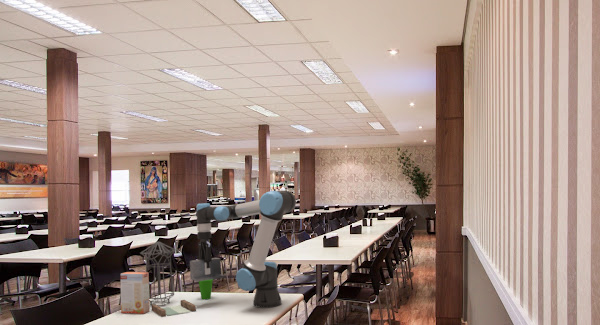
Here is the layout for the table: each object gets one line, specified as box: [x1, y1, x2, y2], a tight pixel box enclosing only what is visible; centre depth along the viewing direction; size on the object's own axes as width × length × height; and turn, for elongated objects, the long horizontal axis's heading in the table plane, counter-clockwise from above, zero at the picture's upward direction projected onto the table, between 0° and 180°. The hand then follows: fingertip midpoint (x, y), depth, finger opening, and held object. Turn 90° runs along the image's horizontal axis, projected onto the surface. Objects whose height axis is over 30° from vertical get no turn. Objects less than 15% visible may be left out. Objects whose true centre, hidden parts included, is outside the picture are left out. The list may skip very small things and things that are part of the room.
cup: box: [197, 279, 214, 300], centre depth 299 cm, size 9×9×11 cm
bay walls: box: [151, 299, 197, 318], centre depth 271 cm, size 18×18×3 cm
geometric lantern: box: [139, 241, 176, 307], centre depth 289 cm, size 16×16×35 cm
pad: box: [162, 304, 191, 317], centre depth 271 cm, size 18×12×1 cm, turn 32°
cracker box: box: [120, 271, 150, 315], centre depth 271 cm, size 14×6×21 cm, turn 71°
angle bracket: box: [189, 257, 226, 282], centre depth 281 cm, size 16×10×10 cm, turn 122°
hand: (205, 273), depth 283 cm, fingers closed on angle bracket, 5 cm apart
